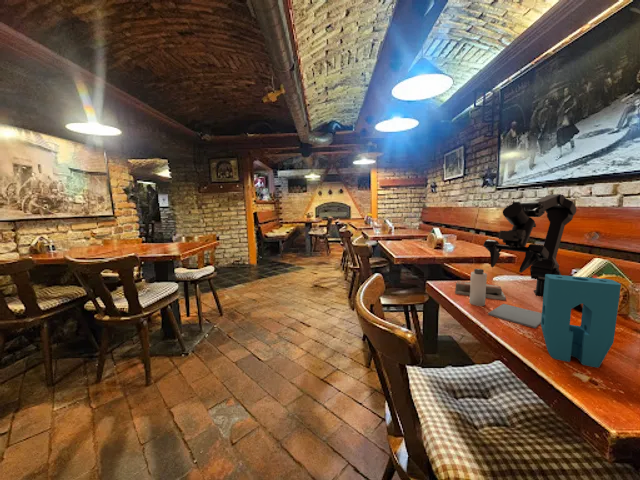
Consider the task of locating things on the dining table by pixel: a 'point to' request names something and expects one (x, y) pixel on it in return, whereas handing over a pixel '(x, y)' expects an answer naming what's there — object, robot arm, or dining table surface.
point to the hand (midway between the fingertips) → (505, 269)
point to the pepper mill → (478, 287)
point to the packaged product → (491, 290)
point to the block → (595, 323)
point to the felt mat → (517, 315)
